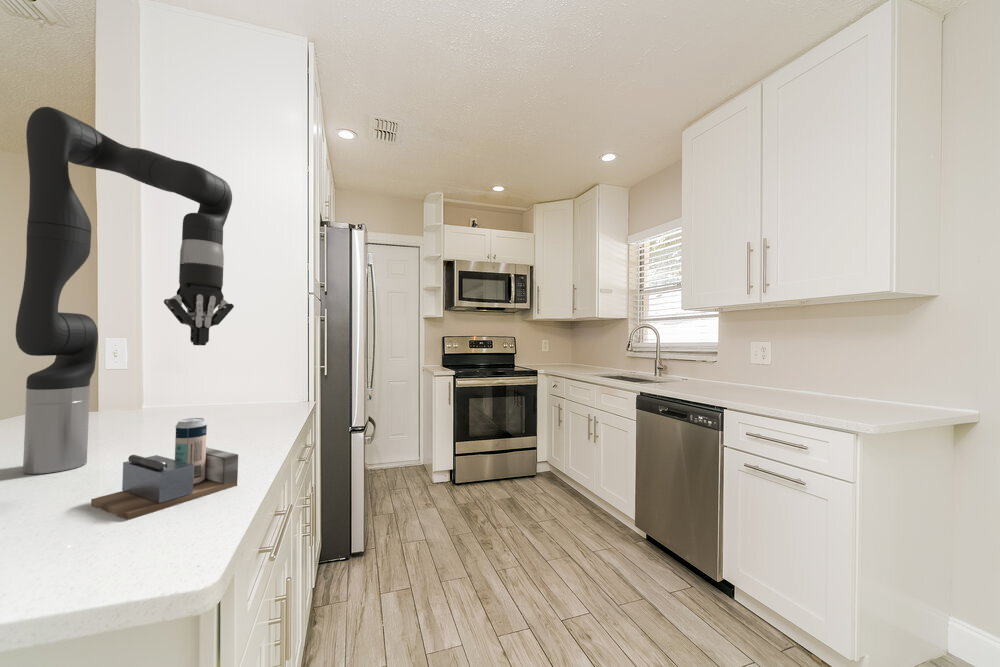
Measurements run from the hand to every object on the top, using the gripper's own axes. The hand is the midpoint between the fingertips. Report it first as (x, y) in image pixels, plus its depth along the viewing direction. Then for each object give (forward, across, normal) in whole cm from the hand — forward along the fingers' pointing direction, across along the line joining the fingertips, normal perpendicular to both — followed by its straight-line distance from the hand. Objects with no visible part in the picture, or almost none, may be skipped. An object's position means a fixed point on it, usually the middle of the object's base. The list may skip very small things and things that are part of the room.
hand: (199, 345), depth 86 cm
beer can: (+26, +6, +9) cm, 28 cm away
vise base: (+27, +9, +9) cm, 30 cm away
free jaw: (+26, +11, +9) cm, 29 cm away
